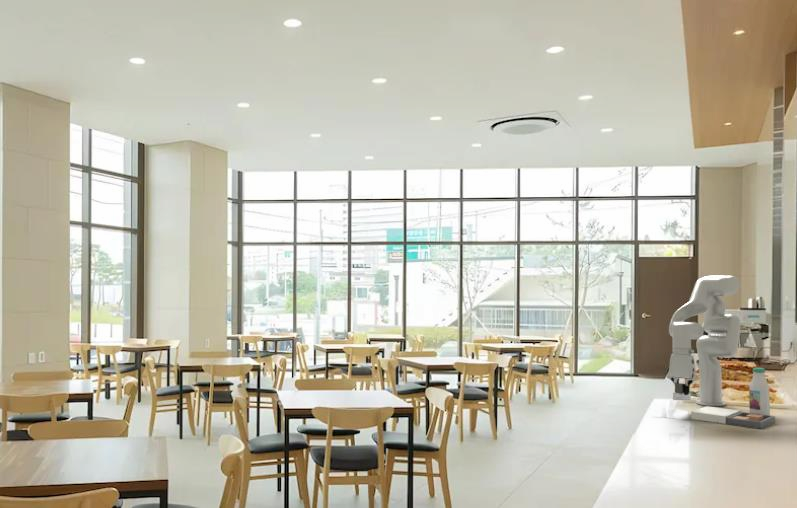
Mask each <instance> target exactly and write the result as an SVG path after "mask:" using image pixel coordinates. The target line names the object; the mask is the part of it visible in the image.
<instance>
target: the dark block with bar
mask: <svg viewBox="0 0 797 508" xmlns="http://www.w3.org/2000/svg"><path fill="white" fill-rule="evenodd" d="M684 386H685V382H684V383H680V382H679V383H675V385H674V392H673V393H672V400H673V401H691V397H692V395H691V392H690V390H691V385H689V394H688V395H684Z"/></svg>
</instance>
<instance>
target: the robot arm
mask: <svg viewBox="0 0 797 508" xmlns="http://www.w3.org/2000/svg"><path fill="white" fill-rule="evenodd" d="M739 289H740V282H739V279H738V277H736V276H735V275H707V276H703V277H701V278H698V279H697V280H696V282H695V283H694V286H693V290H692V292H691V295H690V297H689V299H688V301H687V303H684V305H682V306H681V307H679V308H678V309H677V310H676V311H675V312H674V313H673V314H672V317H671V319H670V322H669V325H668V334H669V336H670V337H672V341H671V342H672V353H671V355H670V358H669V367H668V369H669V370H668V373H667V376H666V379H667V378H668V380H670V381H672V382H671V383H673V385H674V386H675V383H680V379H684V384H685V386H684V395H688V394H689V393H690V392H689V385H690V386H691V385H692V384H693V383H694V382H696V381H699V382H698V383H699V385H698V387H699V391H698V392H699V399H696V400H695V403H696V404H697V405H700V406H705V407H706V406H709V407H723V406H726V405H727V403H726V401H724V400H723V398H724V393H723V389H722V388H723V386H722V385H723V384H722V383H723V382H722V365H721V362H720V361H719V359H718V358H729V359H730V358H734V357H735V356H736V355H737V354H738V348H739V341H740V335H741V319H740V317H739V316H737V315H736V314H732V313H726V309H727V308H726V307H727V305H726V302H725V301H724V299H723V298H722V297H729V296H732V295H736V293H738V291H739ZM703 313H704V317H703V323H702V324H701V323H698V322H697V321H696V322H695V321H686V320H687V319H689V318H691V317H694V316H698V315H700V314H703ZM704 333H707V334H708V335H704ZM709 334H712V335H709ZM723 335H725V336H723ZM692 340H696V345H695V346H696V350H697V351H696V352H697V357H698V377H699V378H698V377H697V374H696V363H695V359H694V355H693V354H694V353H695V350H694V349H693V348H692ZM698 379H699V380H698Z"/></svg>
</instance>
